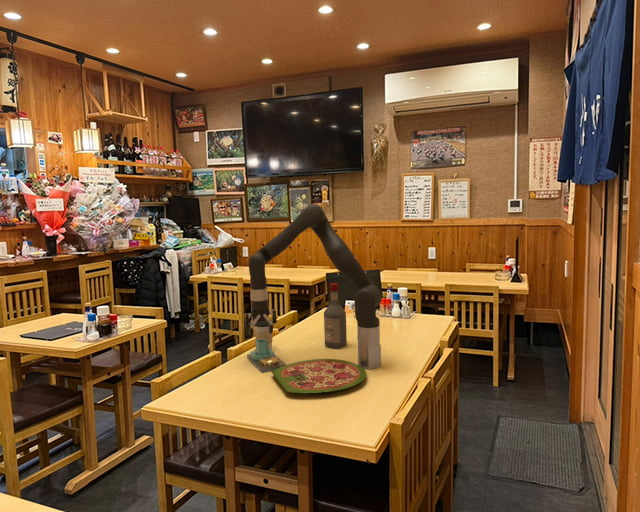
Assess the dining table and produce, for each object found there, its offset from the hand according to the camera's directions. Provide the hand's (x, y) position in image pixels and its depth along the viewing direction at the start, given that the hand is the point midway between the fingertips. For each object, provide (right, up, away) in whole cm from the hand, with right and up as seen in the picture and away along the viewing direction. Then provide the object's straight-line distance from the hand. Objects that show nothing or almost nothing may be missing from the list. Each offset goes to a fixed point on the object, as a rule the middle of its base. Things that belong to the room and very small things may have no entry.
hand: (261, 334), depth 209 cm
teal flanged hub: (0, -10, +1) cm, 10 cm away
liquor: (+33, -8, +18) cm, 39 cm away
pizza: (+27, -14, -24) cm, 38 cm away
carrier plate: (+2, -12, -3) cm, 12 cm away
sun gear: (+4, -11, -8) cm, 14 cm away
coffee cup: (0, -10, +15) cm, 18 cm away
